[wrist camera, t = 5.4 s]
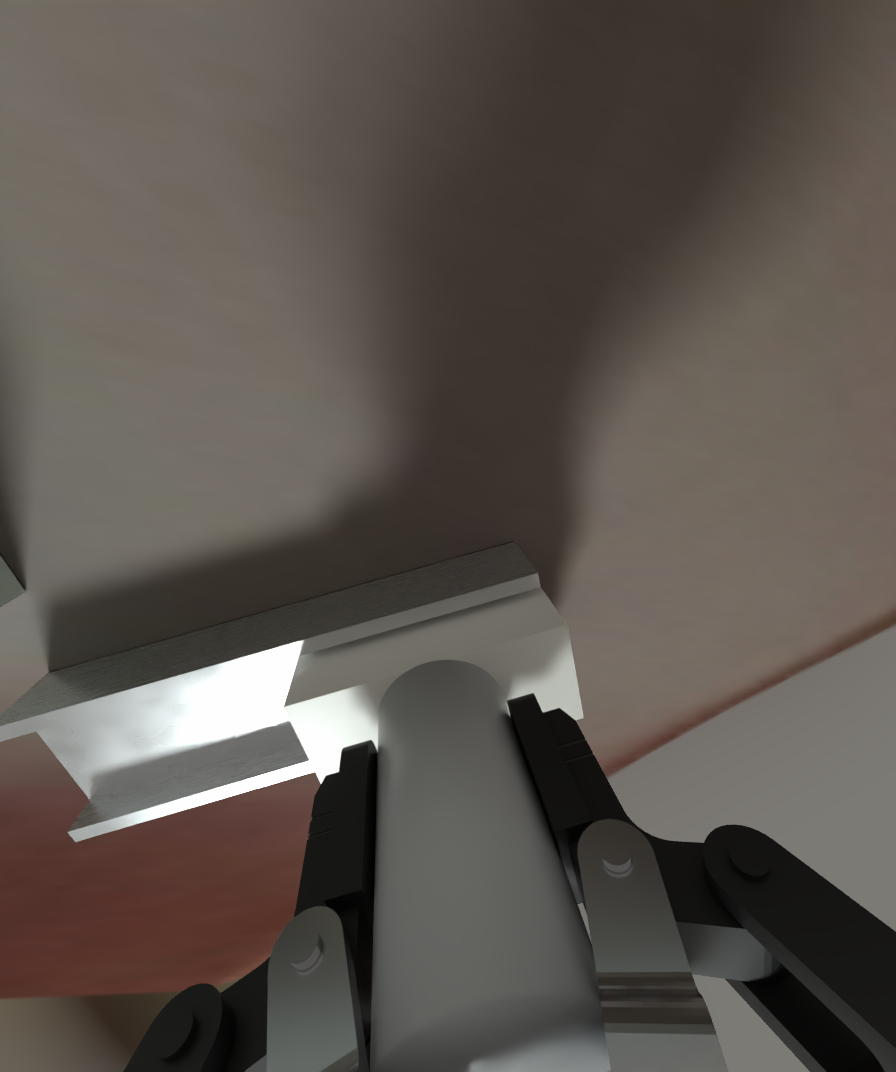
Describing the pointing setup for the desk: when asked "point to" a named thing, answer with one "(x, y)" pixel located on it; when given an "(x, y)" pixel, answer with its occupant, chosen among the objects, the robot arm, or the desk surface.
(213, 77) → the desk surface
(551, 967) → the carriage
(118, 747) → the rail
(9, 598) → the button housing
